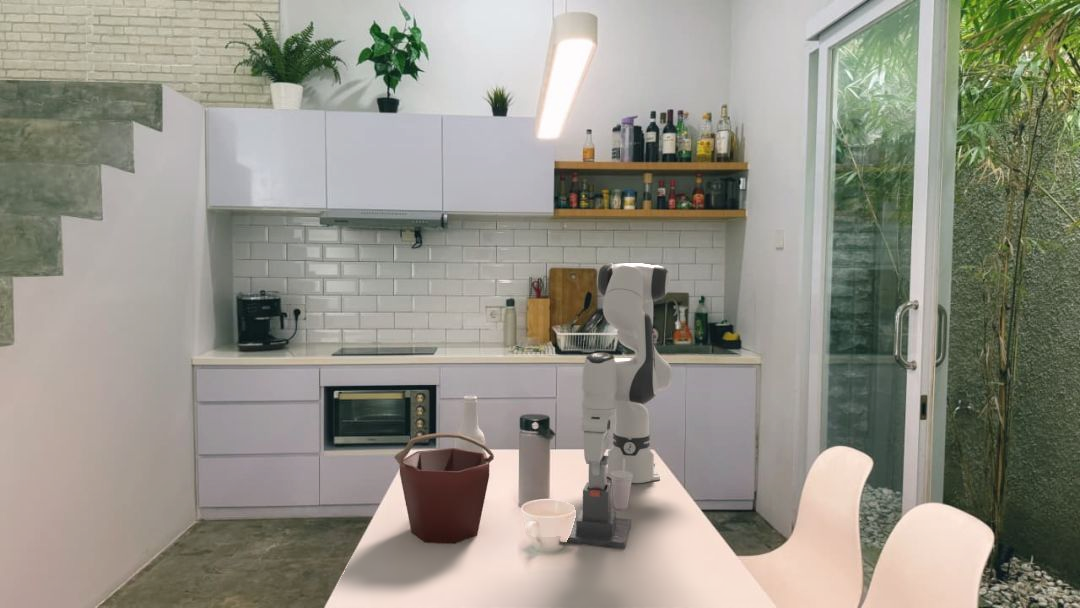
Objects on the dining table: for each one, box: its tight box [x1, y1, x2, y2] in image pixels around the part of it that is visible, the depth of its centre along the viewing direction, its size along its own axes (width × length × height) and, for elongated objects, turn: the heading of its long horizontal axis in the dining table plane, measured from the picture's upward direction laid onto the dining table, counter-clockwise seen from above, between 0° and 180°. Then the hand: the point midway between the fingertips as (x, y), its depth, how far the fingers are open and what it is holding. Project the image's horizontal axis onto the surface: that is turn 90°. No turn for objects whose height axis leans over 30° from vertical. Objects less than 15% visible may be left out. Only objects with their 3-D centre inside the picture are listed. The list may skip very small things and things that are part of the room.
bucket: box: [394, 432, 495, 545], centre depth 175 cm, size 24×22×25 cm
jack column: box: [585, 454, 609, 491], centre depth 175 cm, size 5×5×18 cm
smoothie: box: [610, 459, 633, 511], centre depth 194 cm, size 6×6×14 cm
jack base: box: [566, 481, 632, 550], centre depth 175 cm, size 16×16×12 cm
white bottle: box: [454, 395, 486, 453], centre depth 200 cm, size 9×9×30 cm
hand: (597, 471), depth 174 cm, fingers closed on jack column, 4 cm apart
